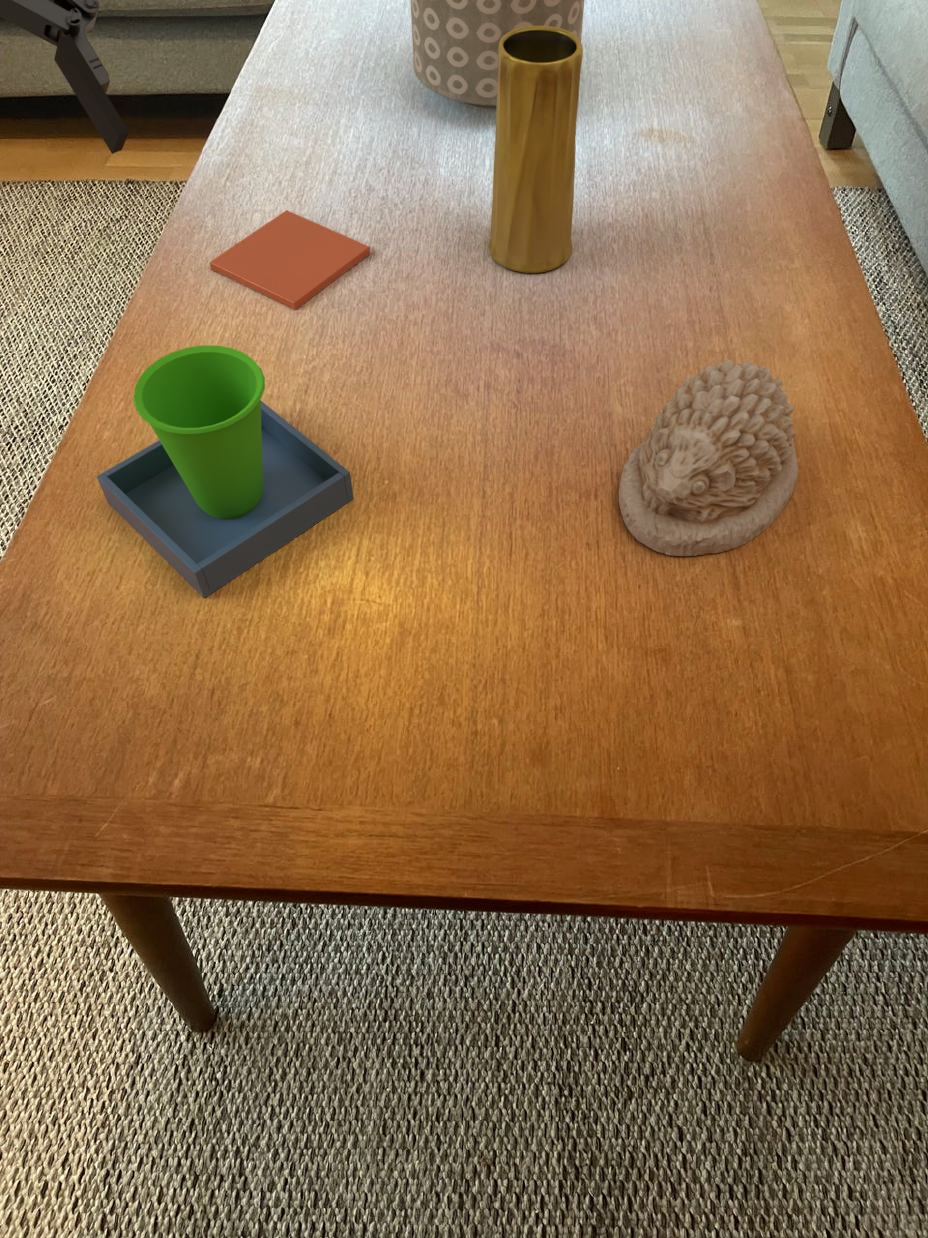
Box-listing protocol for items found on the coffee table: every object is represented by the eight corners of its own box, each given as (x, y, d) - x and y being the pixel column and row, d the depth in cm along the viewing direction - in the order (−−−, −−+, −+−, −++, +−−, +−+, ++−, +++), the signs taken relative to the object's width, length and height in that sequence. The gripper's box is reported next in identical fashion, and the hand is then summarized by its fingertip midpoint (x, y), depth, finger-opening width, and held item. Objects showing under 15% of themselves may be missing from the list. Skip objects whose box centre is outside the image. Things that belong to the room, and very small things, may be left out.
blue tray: (204, 598, 72) (194, 572, 69) (107, 502, 78) (95, 475, 75) (354, 498, 78) (350, 471, 75) (253, 416, 83) (247, 388, 81)
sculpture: (580, 508, 77) (593, 410, 69) (702, 398, 84) (727, 298, 76) (710, 588, 72) (739, 493, 64) (827, 464, 79) (867, 365, 71)
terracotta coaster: (295, 310, 92) (293, 302, 91) (210, 269, 96) (209, 261, 95) (370, 253, 97) (369, 246, 96) (287, 216, 101) (286, 209, 100)
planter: (564, 49, 122) (577, -127, 107) (587, 128, 111) (605, -57, 96) (411, 56, 121) (402, -120, 107) (418, 136, 110) (410, -49, 95)
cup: (150, 492, 78) (108, 383, 69) (246, 438, 81) (218, 327, 72) (213, 558, 73) (177, 450, 65) (311, 498, 77) (290, 388, 68)
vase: (514, 284, 94) (522, 76, 78) (473, 240, 98) (473, 34, 83) (587, 259, 96) (609, 52, 81) (544, 217, 100) (556, 13, 85)
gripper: (-3, -170, 65) (179, 137, 71) (-410, -66, 55) (-161, 282, 61) (6, -259, 59) (206, 86, 64) (-455, -160, 49) (-171, 240, 54)
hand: (28, 182), depth 63 cm, fingers open, 13 cm apart
